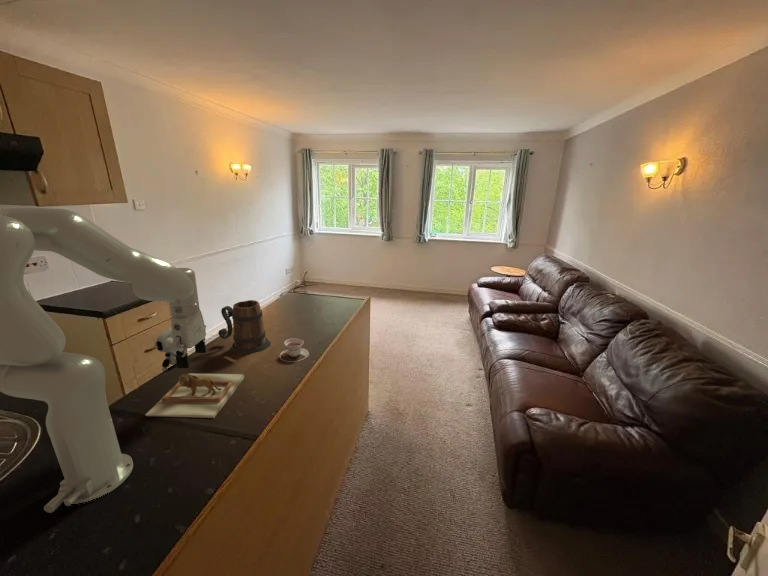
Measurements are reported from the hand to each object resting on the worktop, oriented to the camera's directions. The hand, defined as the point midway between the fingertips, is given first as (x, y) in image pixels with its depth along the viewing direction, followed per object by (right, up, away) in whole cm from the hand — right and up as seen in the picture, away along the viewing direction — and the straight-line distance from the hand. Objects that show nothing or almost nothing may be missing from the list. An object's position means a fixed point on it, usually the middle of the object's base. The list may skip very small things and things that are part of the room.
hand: (192, 359), depth 99 cm
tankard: (-1, -3, +39) cm, 39 cm away
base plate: (0, -13, +5) cm, 14 cm away
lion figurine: (+1, -12, +4) cm, 13 cm away
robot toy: (-20, -7, +22) cm, 31 cm away
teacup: (+23, -6, +32) cm, 40 cm away
